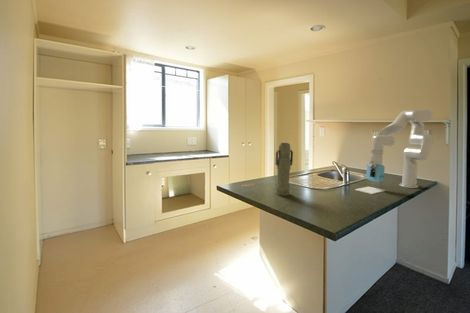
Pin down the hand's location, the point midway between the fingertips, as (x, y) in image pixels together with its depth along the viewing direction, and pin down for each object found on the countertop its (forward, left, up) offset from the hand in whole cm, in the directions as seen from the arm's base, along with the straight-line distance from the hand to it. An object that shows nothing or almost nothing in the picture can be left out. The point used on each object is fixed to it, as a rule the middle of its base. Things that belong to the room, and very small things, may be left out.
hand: (374, 176), depth 200 cm
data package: (0, 0, -3) cm, 3 cm away
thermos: (+69, -25, -10) cm, 74 cm away
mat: (+5, 0, -10) cm, 11 cm away
